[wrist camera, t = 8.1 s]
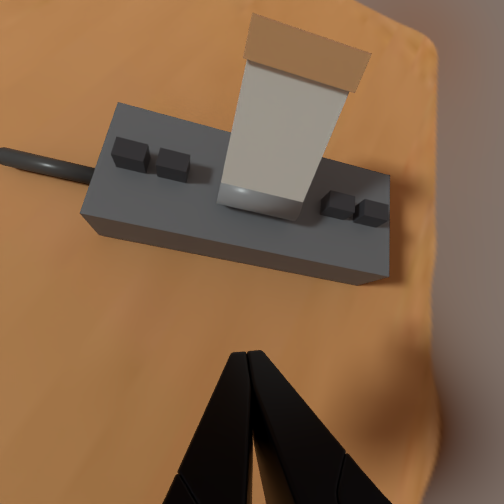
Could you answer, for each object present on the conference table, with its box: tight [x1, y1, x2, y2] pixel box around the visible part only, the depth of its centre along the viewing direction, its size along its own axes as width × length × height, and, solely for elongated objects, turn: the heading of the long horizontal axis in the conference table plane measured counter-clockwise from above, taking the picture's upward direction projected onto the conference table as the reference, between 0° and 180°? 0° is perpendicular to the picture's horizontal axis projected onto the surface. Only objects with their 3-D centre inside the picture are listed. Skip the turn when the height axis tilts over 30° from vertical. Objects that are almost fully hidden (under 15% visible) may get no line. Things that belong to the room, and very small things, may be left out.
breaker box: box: [0, 102, 390, 285], centre depth 20 cm, size 8×28×5 cm, turn 82°
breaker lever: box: [217, 13, 372, 221], centre depth 16 cm, size 2×5×9 cm
